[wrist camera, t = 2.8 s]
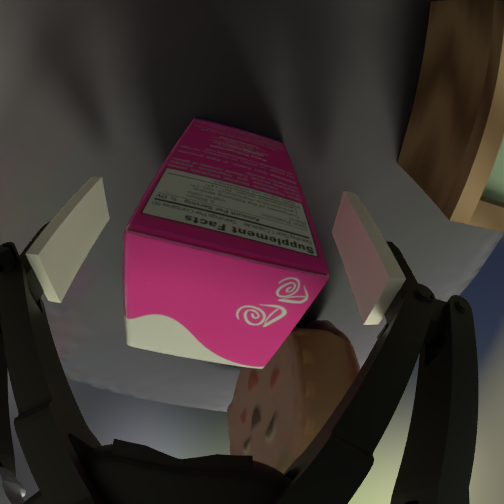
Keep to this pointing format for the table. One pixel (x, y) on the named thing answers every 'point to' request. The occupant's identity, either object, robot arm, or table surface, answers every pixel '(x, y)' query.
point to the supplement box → (220, 250)
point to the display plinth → (461, 113)
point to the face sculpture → (291, 395)
